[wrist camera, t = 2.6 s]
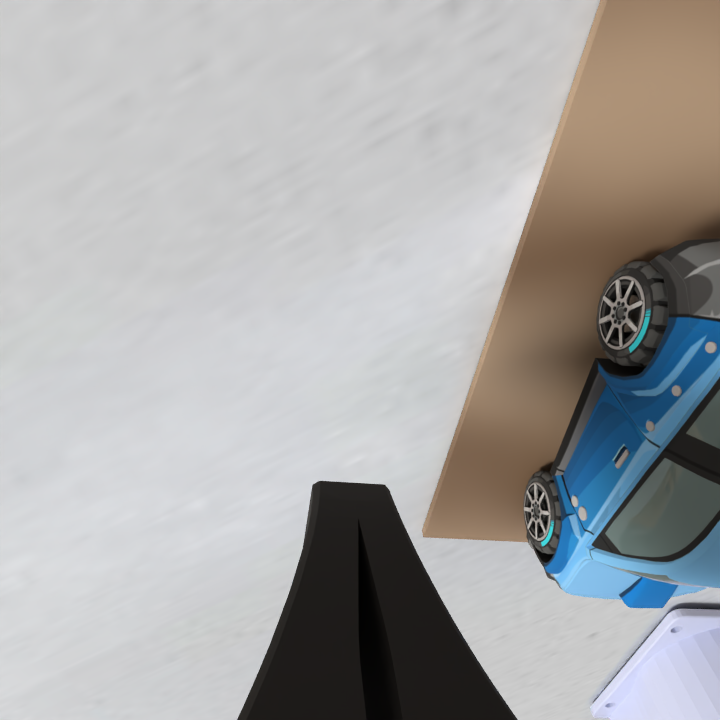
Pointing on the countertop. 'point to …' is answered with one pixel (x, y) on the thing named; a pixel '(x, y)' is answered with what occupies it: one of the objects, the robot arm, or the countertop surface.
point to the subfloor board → (587, 246)
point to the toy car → (641, 442)
